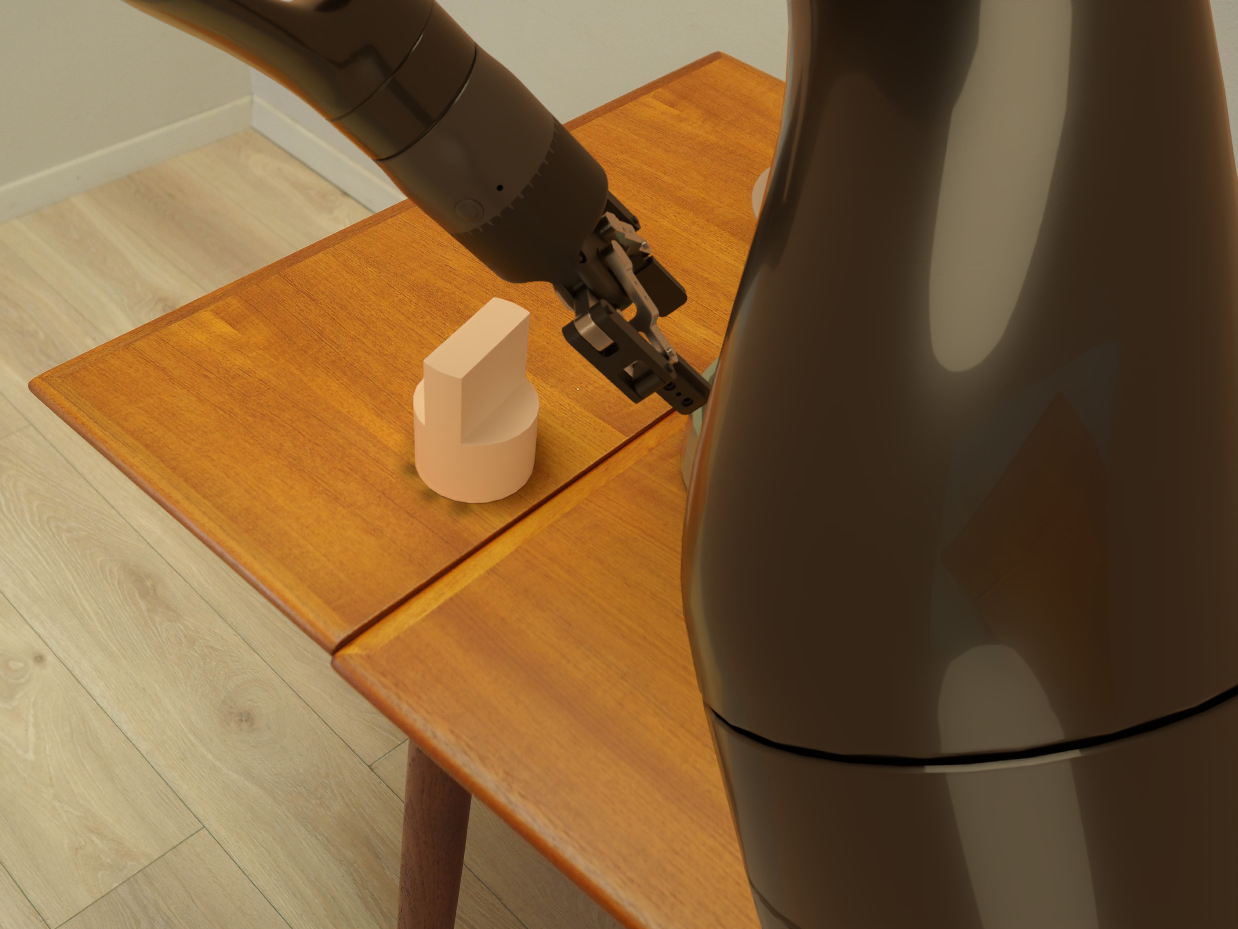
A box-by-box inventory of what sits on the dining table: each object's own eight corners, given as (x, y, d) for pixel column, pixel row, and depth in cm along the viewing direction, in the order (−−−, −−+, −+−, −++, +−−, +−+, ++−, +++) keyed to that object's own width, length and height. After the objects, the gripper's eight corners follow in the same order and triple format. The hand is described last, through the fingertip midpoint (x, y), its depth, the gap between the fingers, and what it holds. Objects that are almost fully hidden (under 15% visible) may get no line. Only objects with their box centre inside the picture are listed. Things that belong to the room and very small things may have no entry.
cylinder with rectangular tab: (459, 402, 84) (460, 279, 75) (556, 448, 82) (569, 327, 73) (390, 469, 78) (383, 345, 69) (492, 521, 76) (498, 399, 67)
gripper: (563, 201, 44) (768, 403, 54) (538, 46, 53) (717, 242, 64) (435, 301, 47) (653, 475, 57) (434, 137, 56) (620, 310, 66)
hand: (686, 352), depth 60 cm, fingers open, 8 cm apart
